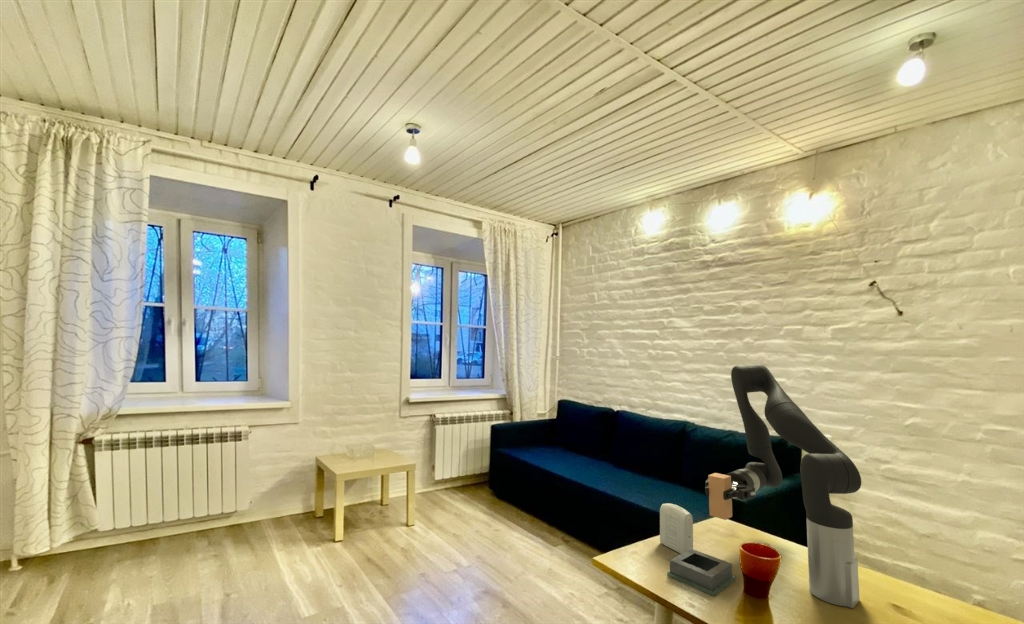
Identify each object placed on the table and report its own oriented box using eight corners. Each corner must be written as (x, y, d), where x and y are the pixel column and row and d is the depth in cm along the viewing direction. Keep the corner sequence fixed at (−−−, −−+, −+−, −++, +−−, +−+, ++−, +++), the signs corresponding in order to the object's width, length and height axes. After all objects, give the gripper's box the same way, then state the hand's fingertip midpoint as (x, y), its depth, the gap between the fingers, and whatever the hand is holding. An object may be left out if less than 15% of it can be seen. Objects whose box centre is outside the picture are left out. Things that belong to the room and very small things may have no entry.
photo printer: (695, 554, 126) (694, 509, 127) (685, 557, 124) (684, 512, 125) (667, 540, 135) (667, 499, 136) (657, 543, 133) (657, 501, 134)
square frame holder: (735, 580, 111) (734, 563, 112) (713, 596, 104) (713, 578, 104) (690, 562, 121) (690, 547, 121) (667, 576, 113) (667, 559, 113)
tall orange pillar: (732, 516, 123) (730, 476, 124) (725, 520, 120) (723, 478, 121) (716, 511, 126) (715, 472, 127) (709, 515, 123) (708, 475, 124)
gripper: (717, 465, 139) (690, 474, 128) (766, 475, 128) (741, 485, 117) (718, 490, 138) (691, 501, 127) (767, 502, 127) (742, 515, 116)
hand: (715, 493), depth 122 cm, fingers closed on tall orange pillar, 4 cm apart
